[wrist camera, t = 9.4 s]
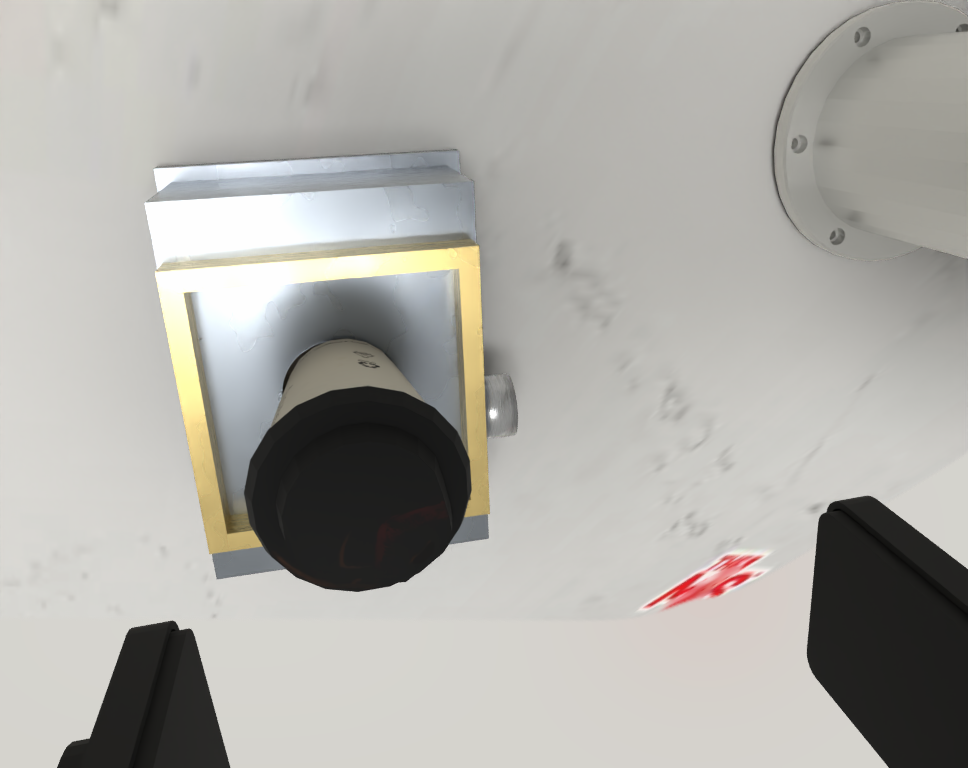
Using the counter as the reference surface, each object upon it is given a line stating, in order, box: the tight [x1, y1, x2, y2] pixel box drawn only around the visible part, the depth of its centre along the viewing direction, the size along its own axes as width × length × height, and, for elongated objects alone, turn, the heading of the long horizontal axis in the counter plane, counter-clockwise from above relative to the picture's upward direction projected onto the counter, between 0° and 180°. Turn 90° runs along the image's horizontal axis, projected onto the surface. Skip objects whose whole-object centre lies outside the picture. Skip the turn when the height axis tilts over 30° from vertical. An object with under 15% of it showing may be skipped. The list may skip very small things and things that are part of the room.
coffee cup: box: [244, 339, 472, 592], centre depth 28 cm, size 7×7×10 cm
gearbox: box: [145, 149, 518, 579], centre depth 35 cm, size 17×15×8 cm
